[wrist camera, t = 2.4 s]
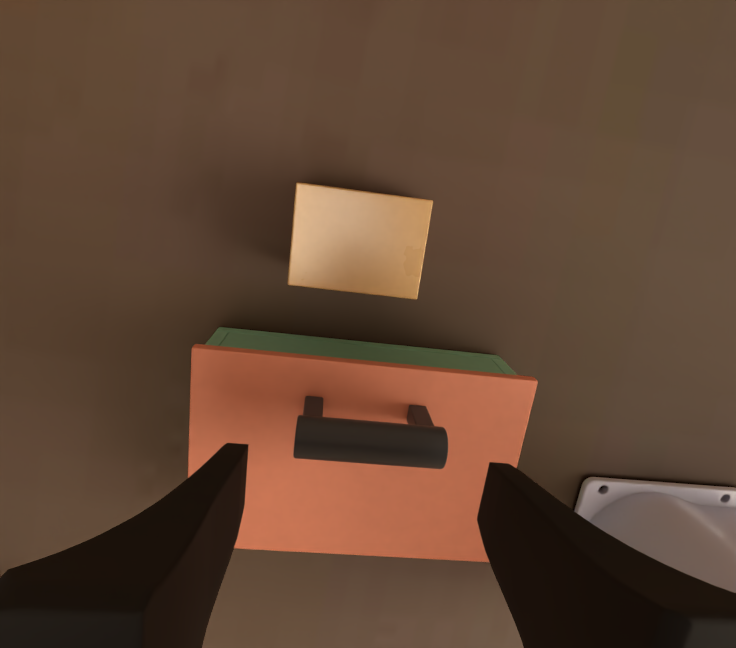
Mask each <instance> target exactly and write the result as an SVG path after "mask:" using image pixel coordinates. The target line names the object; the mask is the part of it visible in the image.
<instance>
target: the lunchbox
mask: <svg viewBox="0 0 736 648" xmlns="http://www.w3.org/2000/svg"><path fill="white" fill-rule="evenodd" d="M205 345H213V346H223V347H234V348H244V349H254V350H264V351H275V352H285V353H295V354H306V355H316V356H326V357H336V358H347V359H357V360H367V361H377V362H388V363H398V364H408V365H418V366H429V367H439V368H449V369H459V370H470V371H480V372H490V373H500V374H511V375H517V374H516V373H515V372H514V371H513V370H512V369H511V368H510V367H509V366H508V365H507V364H506V363H505V362H504V361H503V360H502V359H501V358H500V357H499V356H498V355H491V354H481V353H471V352H461V351H452V350H442V349H432V348H422V347H412V346H402V345H393V344H383V343H373V342H363V341H353V340H343V339H334V338H324V337H314V336H304V335H294V334H284V333H275V332H265V331H255V330H245V329H235V328H225V327H219V328H218V329H217V330H216V331H215V333H214V334H213V335H212V336H211V338H210V339H209V340H208V341H207V342H206V344H205Z"/></svg>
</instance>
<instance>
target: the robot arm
mask: <svg viewBox="0 0 736 648" xmlns="http://www.w3.org/2000/svg"><path fill="white" fill-rule="evenodd" d="M248 445H249V444H238V443H226V444H225V445H223V446H222V447H221V448H220V449H219V450H218V451H217V452H216V453H215V454H214V455H213V456H212V457H211V458H210V459H209V460H208V461H207V462H206V463H205V464H203V465H202V466H201V467H200V468H199V469H198V470H197V471H196V472H194V473H193V474H192V475H191V476H190V477H189V478H188V479H186V480H185V481H184V482H183V483H182V484H180V485H179V486H178V487H177V488H175V489H174V490H173V491H171V492H170V493H169V494H168V495H166V496H165V497H164V498H162V499H161V500H159V501H158V502H157V503H155V504H154V505H152V506H151V507H149V508H147V509H146V510H144V511H143V512H141V513H139V514H138V515H136V516H134V517H133V518H131V519H129V520H127V521H125V522H123V523H121V524H120V525H118V526H116V527H114V528H112V529H110V530H108V531H106V532H105V533H103V534H101V535H98V536H96V537H94V538H92V539H90V540H87V541H85V542H83V543H81V544H78V545H76V546H73V547H71V548H69V549H66V550H64V551H61V552H59V553H56V554H53V555H51V556H48V557H45V558H42V559H39V560H36V561H33V562H30V563H27V564H24V565H21V566H18V567H15V568H12V569H9V570H7V571H6V572H5V573H4V574H3V576H2V577H1V578H0V648H202V644H203V640H204V636H205V632H206V628H207V625H208V622H209V618H210V615H211V612H212V609H213V606H214V603H215V600H216V597H217V595H218V592H219V589H220V586H221V583H222V580H223V578H224V575H225V572H226V569H227V566H228V563H229V560H230V558H231V555H232V552H233V549H234V546H235V543H236V540H237V537H238V533H239V528H240V524H241V519H242V515H243V510H244V505H245V491H246V476H247V460H248ZM601 486H603V488H601V489H599V488H600V487H601ZM477 522H478V526H479V530H480V534H481V538H482V542H483V545H484V549H485V552H486V554H487V557H488V559H489V562H490V564H491V567H492V569H493V571H494V574H495V576H496V579H497V581H498V583H499V586H500V588H501V590H502V593H503V595H504V597H505V600H506V602H507V605H508V607H509V609H510V612H511V614H512V616H513V619H514V621H515V624H516V626H517V629H518V632H519V634H520V637H521V640H522V643H523V646H524V648H736V488H734V487H721V486H708V485H694V484H681V483H668V482H655V481H641V480H628V479H615V478H602V477H589V478H587V479H586V480H584V482H583V483H582V486H581V490H580V493H579V496H578V500H577V503H576V507H575V510H574V511H573V510H572V509H570V508H569V507H567V506H566V505H565V504H563V503H562V502H560V501H559V500H558V499H556V498H555V497H554V496H552V495H551V494H550V493H549V492H547V491H546V490H545V489H543V488H542V487H541V486H539V485H538V484H537V483H535V482H534V481H533V480H532V479H530V478H529V477H528V476H526V475H525V474H524V473H522V472H521V471H519V470H518V469H517V468H515V467H514V466H512V465H510V464H508V463H495V462H489V467H488V471H487V476H486V480H485V484H484V489H483V493H482V498H481V502H480V507H479V511H478V516H477Z"/></svg>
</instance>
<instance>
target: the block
mask: <svg viewBox="0 0 736 648" xmlns="http://www.w3.org/2000/svg"><path fill="white" fill-rule="evenodd" d="M432 205H433V201H432V200H426V199H420V198H413V197H405V196H398V195H390V194H383V193H376V192H368V191H361V190H353V189H346V188H339V187H331V186H324V185H316V184H309V183H301V182H297V183H296V188H295V200H294V212H293V224H292V236H291V247H290V259H289V271H288V285H292V286H301V287H310V288H318V289H327V290H336V291H345V292H354V293H363V294H372V295H381V296H390V297H399V298H407V299H417V297H418V291H419V285H420V279H421V273H422V266H423V260H424V254H425V248H426V242H427V236H428V230H429V223H430V217H431V211H432Z"/></svg>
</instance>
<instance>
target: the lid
mask: <svg viewBox="0 0 736 648" xmlns="http://www.w3.org/2000/svg"><path fill="white" fill-rule="evenodd" d="M537 383H538V381H537V380H536V379H535V378H534V377H531V376H521V375H511V374H500V373H490V372H480V371H470V370H459V369H449V368H439V367H429V366H418V365H408V364H398V363H388V362H377V361H367V360H357V359H347V358H336V357H326V356H316V355H306V354H295V353H285V352H275V351H264V350H254V349H244V348H234V347H223V346H213V345H203V344H195V345H194V346H193V347H192V351H191V386H190V420H189V454H188V478H189V477H190V476H191V475H192V474H193V473H194V472H196V471H197V470H198V469H199V468H200V467H201V466H202V465H203V464H205V463H206V462H207V461H208V460H209V459H210V458H211V457H212V456H213V455H214V454H215V453H216V452H217V451H218V450H219V449H220V448H221V447H222V446H223V445H225V444H226V443H238V444H249V445H248V460H247V476H246V491H245V505H244V510H243V515H242V519H241V524H240V528H239V533H238V537H237V540H236V543H235V546H234V548H238V549H256V550H275V551H293V552H312V553H330V554H349V555H367V556H386V557H404V558H423V559H441V560H459V561H478V562H489V559H488V557H487V554H486V552H485V549H484V545H483V542H482V538H481V534H480V530H479V526H478V522H477V516H478V511H479V507H480V502H481V498H482V493H483V489H484V484H485V480H486V476H487V471H488V467H489V462H495V463H508V464H510V465H512V466H514V467H515V468H517V464H518V460H519V456H520V452H521V448H522V444H523V440H524V436H525V432H526V428H527V424H528V420H529V416H530V412H531V408H532V404H533V400H534V396H535V392H536V387H537Z"/></svg>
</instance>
